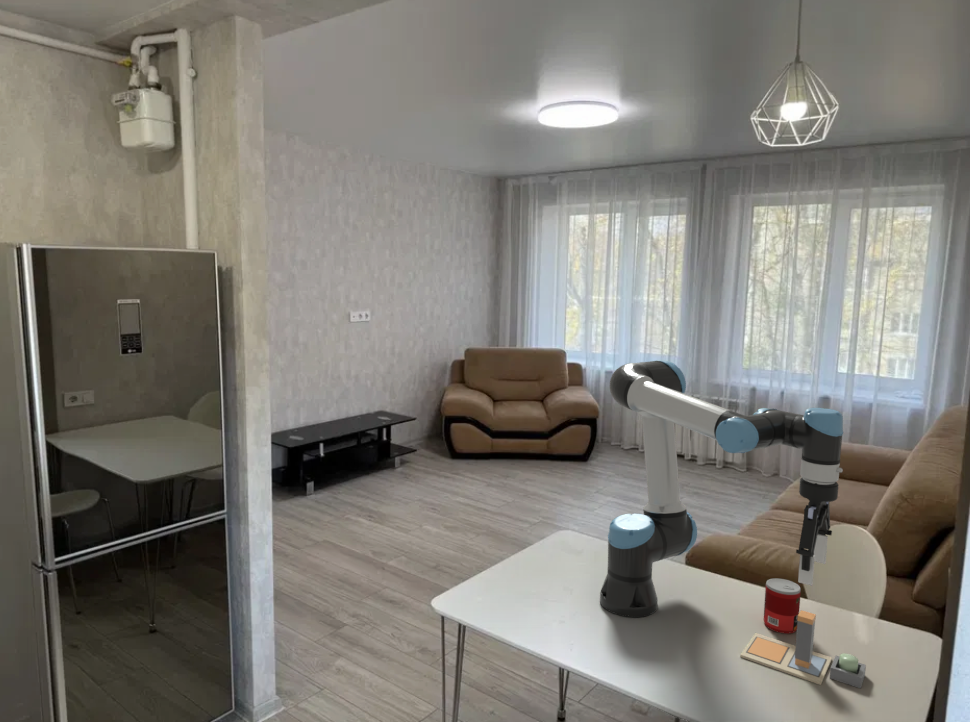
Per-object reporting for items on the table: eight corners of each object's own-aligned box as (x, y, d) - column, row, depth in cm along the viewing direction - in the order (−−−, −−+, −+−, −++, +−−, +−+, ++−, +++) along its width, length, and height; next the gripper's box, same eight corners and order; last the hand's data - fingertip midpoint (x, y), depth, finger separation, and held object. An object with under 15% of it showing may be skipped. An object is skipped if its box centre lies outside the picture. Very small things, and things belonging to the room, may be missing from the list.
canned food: (801, 636, 162) (804, 593, 160) (766, 632, 164) (769, 590, 162) (793, 620, 169) (796, 579, 168) (760, 616, 171) (763, 576, 170)
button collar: (829, 678, 145) (830, 667, 145) (834, 665, 150) (835, 655, 149) (860, 688, 141) (861, 677, 141) (864, 675, 146) (865, 664, 146)
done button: (837, 670, 145) (838, 658, 145) (840, 662, 148) (841, 651, 147) (855, 676, 143) (856, 664, 142) (858, 668, 146) (859, 657, 145)
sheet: (740, 656, 153) (740, 654, 153) (755, 635, 162) (755, 632, 162) (820, 685, 142) (821, 681, 142) (831, 659, 152) (831, 657, 152)
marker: (794, 664, 149) (797, 615, 147) (797, 658, 151) (800, 610, 150) (809, 669, 147) (812, 620, 145) (812, 662, 149) (815, 614, 148)
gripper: (826, 498, 131) (818, 598, 134) (848, 469, 151) (841, 558, 153) (786, 490, 136) (779, 587, 138) (813, 464, 155) (806, 549, 158)
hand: (812, 572), depth 146 cm, fingers open, 13 cm apart
